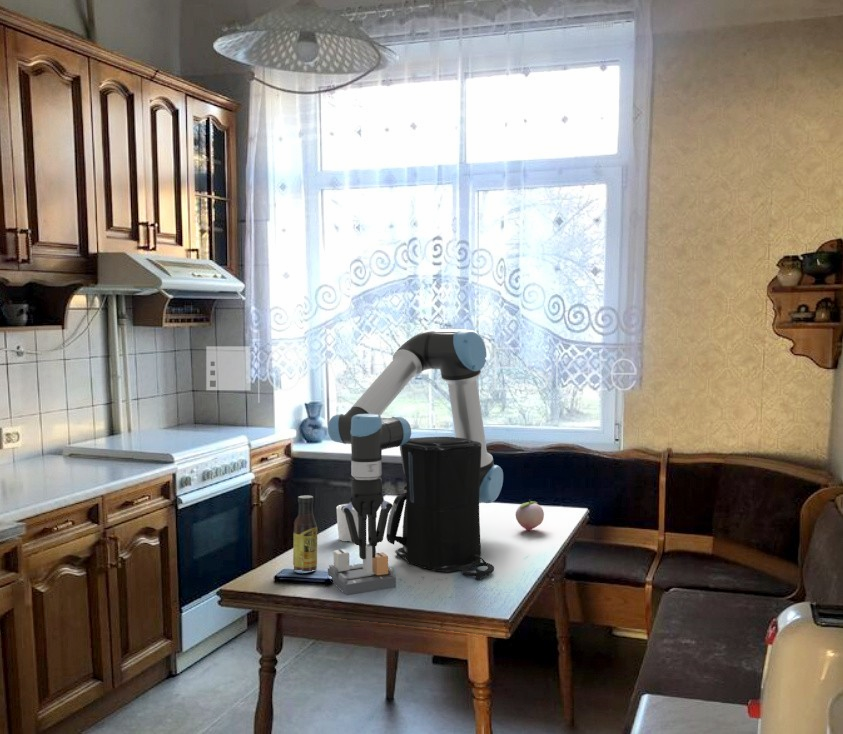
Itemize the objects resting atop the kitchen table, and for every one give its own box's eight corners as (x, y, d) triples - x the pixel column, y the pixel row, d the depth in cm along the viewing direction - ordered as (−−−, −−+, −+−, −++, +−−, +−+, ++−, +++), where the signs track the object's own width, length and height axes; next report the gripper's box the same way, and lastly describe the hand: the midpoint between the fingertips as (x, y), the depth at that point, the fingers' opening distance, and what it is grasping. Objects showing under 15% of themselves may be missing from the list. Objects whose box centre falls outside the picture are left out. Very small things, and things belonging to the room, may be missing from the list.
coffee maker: (424, 542, 237) (424, 430, 235) (521, 560, 219) (521, 438, 217) (377, 561, 219) (376, 439, 217) (478, 583, 200) (478, 450, 198)
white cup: (332, 541, 239) (331, 508, 238) (344, 534, 246) (344, 502, 246) (355, 544, 236) (355, 510, 235) (367, 537, 243) (367, 504, 243)
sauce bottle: (306, 576, 206) (305, 500, 205) (288, 572, 209) (287, 497, 208) (322, 569, 212) (321, 495, 211) (304, 566, 215) (303, 493, 214)
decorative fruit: (536, 536, 243) (536, 503, 243) (512, 532, 247) (512, 500, 247) (548, 529, 251) (548, 497, 251) (524, 525, 255) (524, 495, 255)
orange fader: (371, 571, 200) (371, 553, 200) (383, 569, 202) (382, 551, 201) (377, 575, 197) (376, 556, 197) (388, 573, 198) (388, 555, 198)
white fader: (333, 567, 203) (333, 549, 203) (344, 566, 205) (344, 548, 204) (338, 571, 200) (337, 553, 200) (349, 570, 202) (349, 551, 201)
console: (327, 578, 205) (327, 563, 205) (375, 571, 210) (374, 557, 210) (346, 594, 192) (346, 579, 192) (395, 587, 198) (395, 572, 197)
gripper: (346, 482, 190) (347, 579, 192) (396, 477, 196) (397, 571, 197) (336, 476, 197) (337, 570, 199) (385, 472, 203) (386, 563, 204)
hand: (367, 570), depth 198 cm, fingers closed
